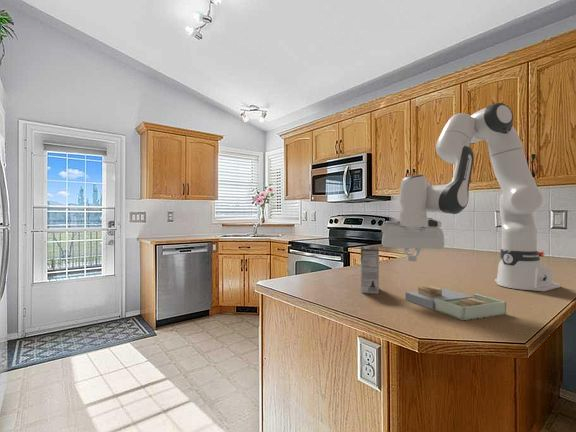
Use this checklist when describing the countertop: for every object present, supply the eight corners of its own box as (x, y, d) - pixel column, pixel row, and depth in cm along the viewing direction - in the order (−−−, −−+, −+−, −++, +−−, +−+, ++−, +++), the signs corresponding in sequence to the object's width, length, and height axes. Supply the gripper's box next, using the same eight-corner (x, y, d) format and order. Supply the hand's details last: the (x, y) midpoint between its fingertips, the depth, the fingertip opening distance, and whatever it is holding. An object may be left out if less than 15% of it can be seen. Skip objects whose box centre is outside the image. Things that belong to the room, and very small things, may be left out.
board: (442, 295, 113) (442, 288, 113) (472, 304, 102) (472, 296, 102) (405, 299, 108) (405, 292, 108) (432, 309, 96) (432, 301, 96)
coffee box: (360, 287, 126) (360, 246, 125) (377, 287, 124) (377, 246, 124) (361, 293, 117) (361, 248, 116) (379, 293, 115) (379, 249, 115)
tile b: (430, 291, 108) (430, 285, 108) (441, 295, 103) (441, 289, 103) (418, 293, 106) (418, 287, 106) (429, 296, 102) (429, 290, 101)
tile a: (470, 304, 100) (470, 298, 100) (485, 308, 95) (485, 302, 95) (459, 306, 98) (459, 299, 98) (474, 311, 94) (474, 304, 94)
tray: (474, 304, 102) (474, 293, 102) (506, 314, 92) (506, 302, 92) (434, 310, 96) (434, 298, 96) (463, 320, 87) (463, 308, 87)
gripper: (382, 221, 111) (381, 261, 111) (446, 222, 107) (445, 263, 107) (380, 220, 117) (380, 258, 117) (441, 221, 113) (440, 260, 113)
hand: (411, 261), depth 112 cm, fingers closed
